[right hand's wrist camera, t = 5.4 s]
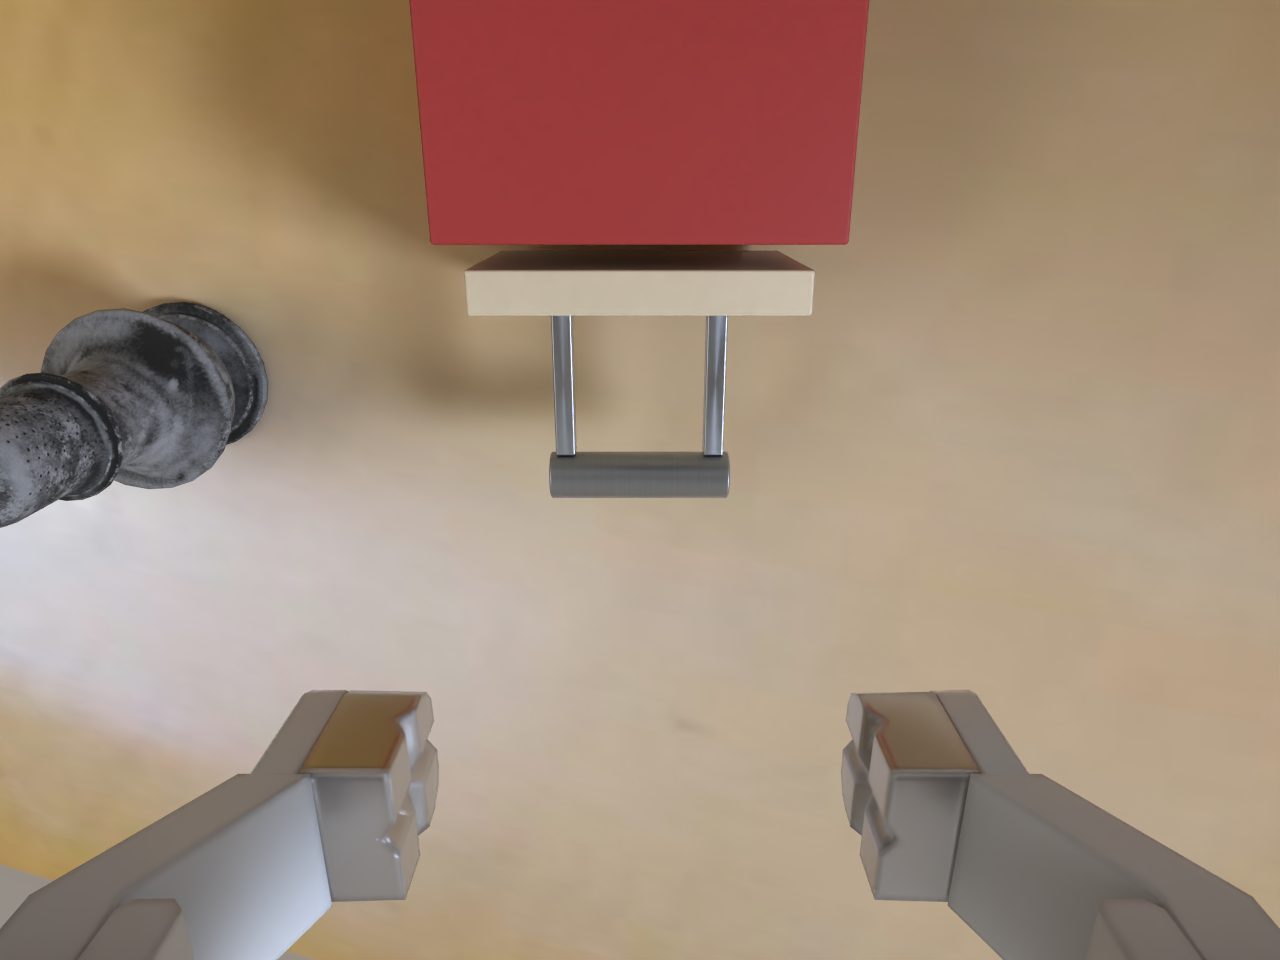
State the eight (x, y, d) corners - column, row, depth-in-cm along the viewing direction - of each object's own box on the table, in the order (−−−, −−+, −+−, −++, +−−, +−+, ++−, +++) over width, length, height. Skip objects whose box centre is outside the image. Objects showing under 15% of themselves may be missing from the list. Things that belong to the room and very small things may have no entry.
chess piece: (123, 449, 30) (-187, 611, 19) (96, 287, 28) (-267, 360, 17) (283, 460, 30) (71, 626, 19) (269, 299, 28) (23, 379, 17)
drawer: (766, 460, 30) (796, 526, 24) (512, 460, 30) (482, 526, 24) (818, -452, 21) (885, -684, 15) (459, -452, 21) (393, -684, 15)
